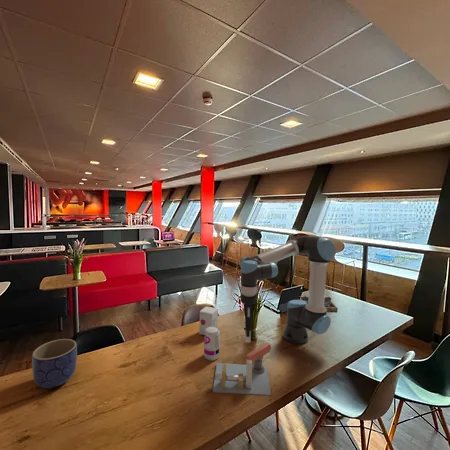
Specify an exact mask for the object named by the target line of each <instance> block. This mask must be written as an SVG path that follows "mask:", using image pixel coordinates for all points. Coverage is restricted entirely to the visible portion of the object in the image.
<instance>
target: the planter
mask: <svg viewBox="0 0 450 450" xmlns="http://www.w3.org/2000/svg"><path fill="white" fill-rule="evenodd" d="M77 345H78V344H77V342H76V341H75V340H73V339H71V338H61V339H60V338H59V339H55V340H50V341H49V342H48V341H47V342H46V343H43V344H41V345H40V346H38V347H37V348H35V350H33V352H32V355H31V367H32V371H31V372H32V377H33V381H34V383H35V385H37V387H39V388H42V389H52V388H56V387H58V386H61V385H64V384H65V383H67V381H69V380H70V379H71V378H72V377H73V375H74V373H75V372H76V369H77V361H78V346H77Z"/></svg>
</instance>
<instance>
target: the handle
mask: <svg viewBox="0 0 450 450" xmlns="http://www.w3.org/2000/svg"><path fill="white" fill-rule="evenodd" d="M271 349H272V345H271V344H270V343H268V342H266V343H264V344H262V345H261V346H259V347H257V348H255V349H253V350H252V351H250V352H247V354H246V355H245V363H246V362H247V360H252V364H254V361H256V360H259V361H260V360H262V361H263V359H264V356H266V355H267V354H269V353H270V352H271Z"/></svg>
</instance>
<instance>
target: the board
mask: <svg viewBox="0 0 450 450" xmlns="http://www.w3.org/2000/svg"><path fill="white" fill-rule="evenodd" d="M223 364H226V375H239V373H243V376H246V364H239V363H238V364H237V363H224V362H216V367H215V371H214V372H215V373H214V375H215V374H222V368H223ZM262 364H263V359H262V360H260V361H259V360H256V361H254V362H253V364H252V386H251V389H250V388H246V382H243V390H238V382H234V381H226V385H225V390H223V389H222V381H220V380H214V379H213V387H212V393H222V394H236V395H237V394H239V395H252V396H253V395H254V396H256V395H257V396H270V395H271V396H272V392H271V391H272V390H271V387H270V386H271V385H270V378H269V374H268V367H267V365H262Z"/></svg>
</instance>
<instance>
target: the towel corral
mask: <svg viewBox="0 0 450 450" xmlns="http://www.w3.org/2000/svg"><path fill="white" fill-rule="evenodd" d="M300 297H301V300H303V301H304V300H305V299H304V298H305V297H304V296H300ZM305 301H306V300H305ZM325 308H326V309H327V312H333V311H336V312H338V307H337V306H336V305H335V304H334V303H333V301H331V304H330V305H329V306H325ZM336 312H335V313H336Z"/></svg>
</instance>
